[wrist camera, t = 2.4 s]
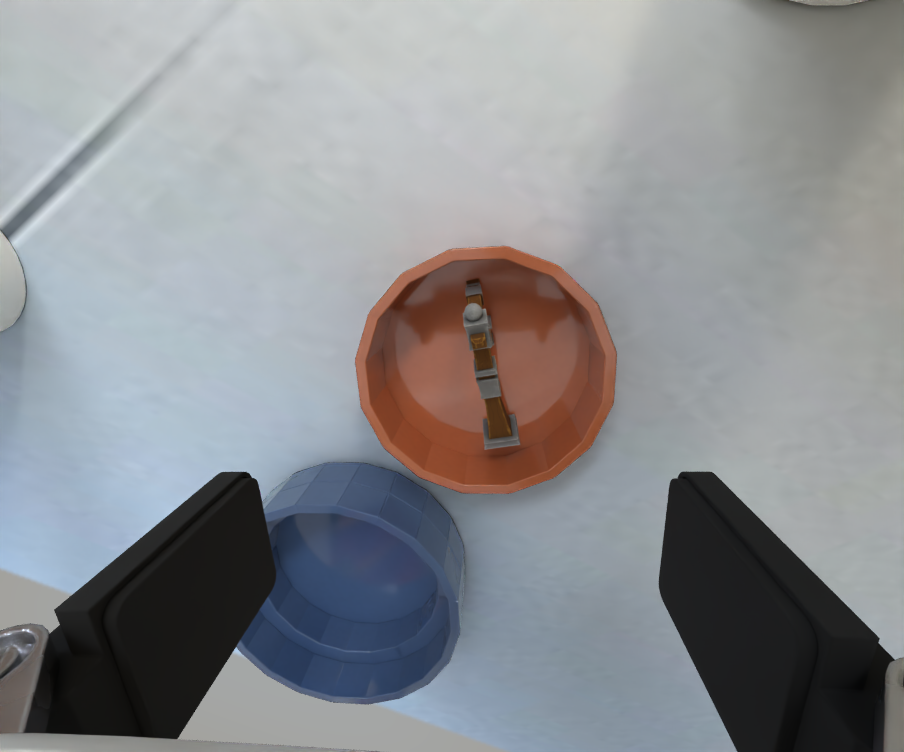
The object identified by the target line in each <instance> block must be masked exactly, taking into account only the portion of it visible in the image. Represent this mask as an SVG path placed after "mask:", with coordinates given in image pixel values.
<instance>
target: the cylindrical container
mask: <svg viewBox="0 0 904 752" xmlns="http://www.w3.org/2000/svg"><path fill="white" fill-rule="evenodd" d="M25 297H26V285H25V278H24V274H23V269H22V266H21V264H20V261H19V259H18V256H17V254H16V253H15V251H14V249H13V247H12V246H11V244H10V242H9V241H8V240H7V238H6V237H5V236H4V234H3V233H2V232H1V231H0V332H1V331H4V330H6V329H7V328H9V327H10V326H12V325H13V324H14V323H15V322H16V320H17V319H18V318H19V316H20V315H21V312H22V310H23V307H24V304H25Z"/></svg>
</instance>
